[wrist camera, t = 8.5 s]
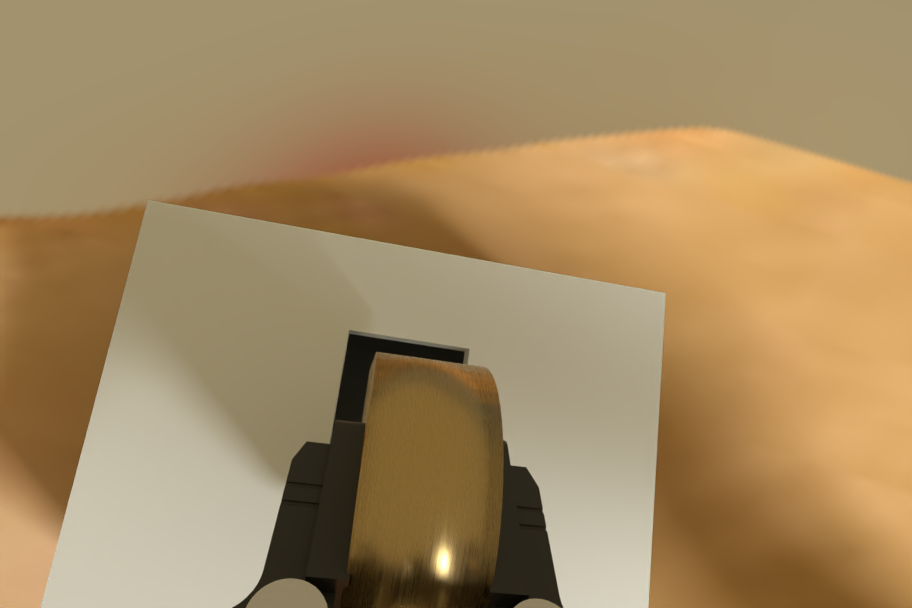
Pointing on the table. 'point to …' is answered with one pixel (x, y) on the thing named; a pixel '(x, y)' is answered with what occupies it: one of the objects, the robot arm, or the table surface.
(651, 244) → the table surface
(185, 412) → the coin box
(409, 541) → the token
